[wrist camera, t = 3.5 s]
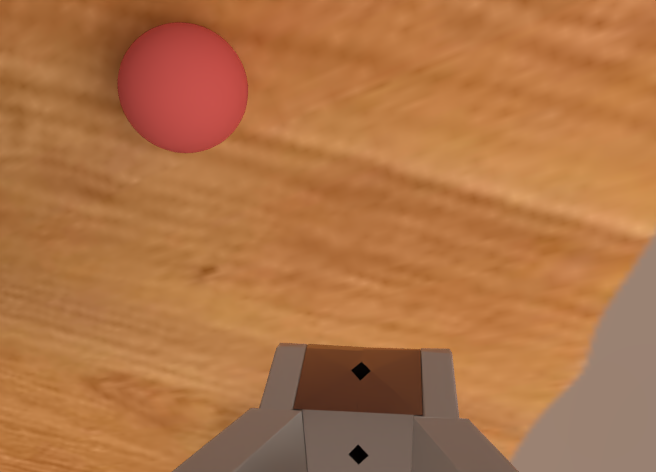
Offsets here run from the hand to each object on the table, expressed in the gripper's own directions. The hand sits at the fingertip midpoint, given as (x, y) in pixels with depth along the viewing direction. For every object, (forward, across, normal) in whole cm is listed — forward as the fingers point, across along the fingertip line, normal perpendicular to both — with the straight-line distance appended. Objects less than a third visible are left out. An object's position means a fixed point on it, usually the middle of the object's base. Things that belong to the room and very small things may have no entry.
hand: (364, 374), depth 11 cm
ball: (+19, +10, 0) cm, 21 cm away
